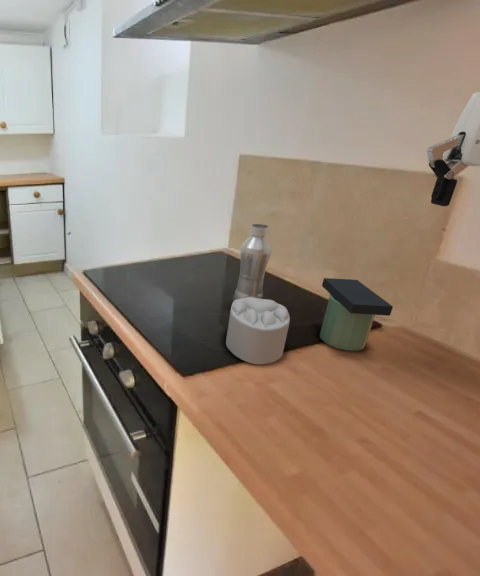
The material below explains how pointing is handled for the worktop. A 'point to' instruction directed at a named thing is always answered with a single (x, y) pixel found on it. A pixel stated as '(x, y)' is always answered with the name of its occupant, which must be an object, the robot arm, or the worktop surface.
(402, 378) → the worktop surface
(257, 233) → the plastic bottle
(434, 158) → the robot arm
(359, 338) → the cup
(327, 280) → the dark blue flat block
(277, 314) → the lumpy-topped squat cylinder
